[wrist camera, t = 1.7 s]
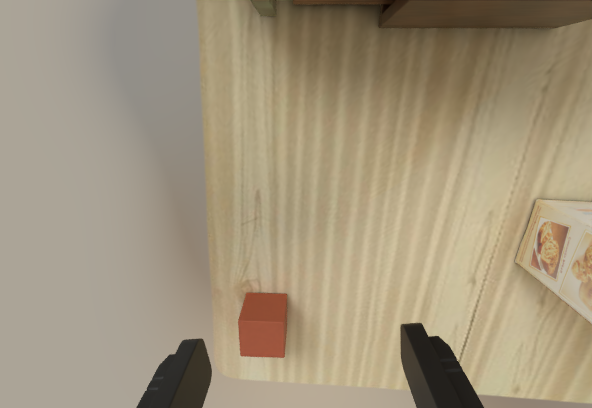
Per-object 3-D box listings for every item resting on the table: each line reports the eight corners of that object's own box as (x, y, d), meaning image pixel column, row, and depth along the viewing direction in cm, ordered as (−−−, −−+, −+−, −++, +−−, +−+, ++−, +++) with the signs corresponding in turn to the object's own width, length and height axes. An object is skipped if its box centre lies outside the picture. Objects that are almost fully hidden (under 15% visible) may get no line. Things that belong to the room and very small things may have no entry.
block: (248, 325, 35) (240, 356, 31) (246, 292, 33) (237, 321, 29) (287, 326, 35) (284, 358, 31) (287, 293, 33) (284, 322, 29)
